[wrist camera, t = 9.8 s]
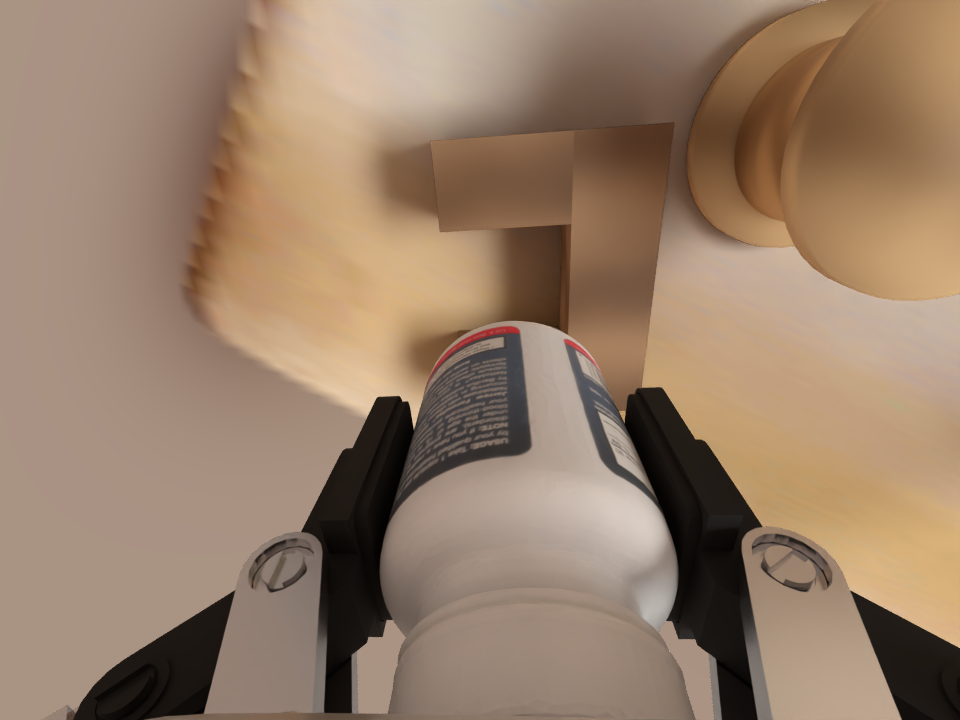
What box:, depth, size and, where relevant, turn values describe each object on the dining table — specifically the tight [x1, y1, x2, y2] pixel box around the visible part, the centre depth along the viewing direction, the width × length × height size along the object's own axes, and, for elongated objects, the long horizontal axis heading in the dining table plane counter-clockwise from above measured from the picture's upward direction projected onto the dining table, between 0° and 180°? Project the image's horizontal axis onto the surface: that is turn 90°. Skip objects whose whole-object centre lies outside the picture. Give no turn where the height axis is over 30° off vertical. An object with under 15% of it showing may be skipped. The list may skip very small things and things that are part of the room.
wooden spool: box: [687, 0, 960, 301], centre depth 16 cm, size 10×10×9 cm
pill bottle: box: [380, 321, 695, 720], centre depth 9 cm, size 5×5×9 cm
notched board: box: [430, 123, 674, 411], centre depth 22 cm, size 14×10×4 cm
